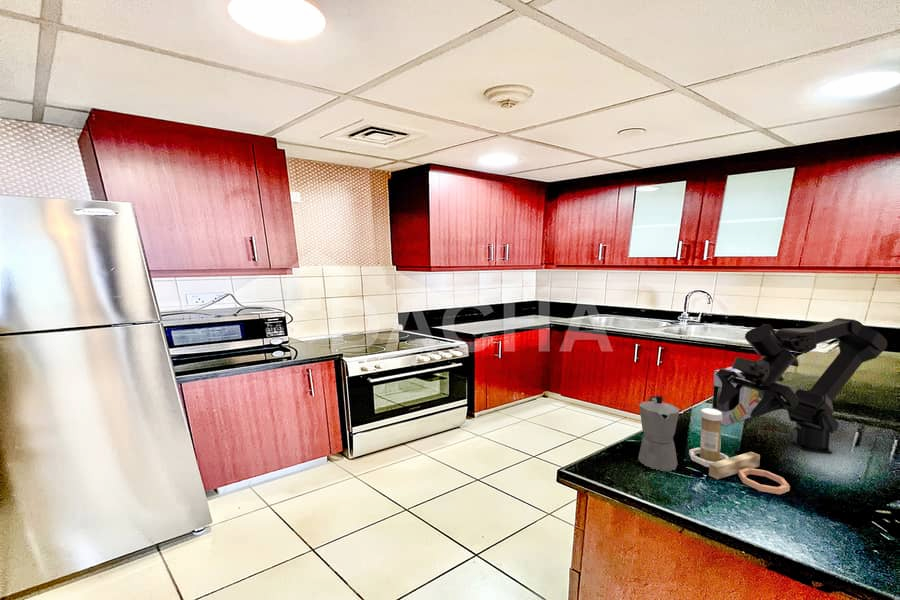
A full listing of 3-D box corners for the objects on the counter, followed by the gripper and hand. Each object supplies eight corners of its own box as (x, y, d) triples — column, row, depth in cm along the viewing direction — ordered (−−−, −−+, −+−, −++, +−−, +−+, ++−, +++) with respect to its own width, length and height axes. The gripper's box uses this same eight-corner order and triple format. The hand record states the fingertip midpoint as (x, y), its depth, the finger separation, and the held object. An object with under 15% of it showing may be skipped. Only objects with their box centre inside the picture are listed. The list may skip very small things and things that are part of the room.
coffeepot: (685, 478, 91) (688, 406, 89) (642, 473, 94) (644, 402, 92) (669, 449, 105) (671, 387, 104) (632, 445, 108) (633, 384, 107)
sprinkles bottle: (723, 461, 99) (725, 411, 98) (715, 466, 96) (717, 415, 95) (703, 454, 103) (705, 406, 102) (696, 458, 100) (697, 410, 99)
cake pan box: (724, 427, 120) (726, 373, 119) (708, 421, 124) (710, 369, 123) (759, 417, 127) (761, 366, 126) (742, 412, 132) (745, 363, 131)
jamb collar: (724, 455, 102) (724, 451, 102) (734, 471, 94) (734, 466, 94) (687, 449, 105) (687, 445, 105) (693, 464, 97) (693, 460, 97)
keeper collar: (778, 477, 91) (778, 472, 91) (794, 497, 83) (795, 492, 83) (735, 470, 94) (735, 465, 94) (746, 488, 86) (746, 483, 86)
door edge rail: (750, 462, 98) (751, 451, 98) (759, 466, 96) (759, 455, 96) (708, 475, 92) (709, 463, 92) (717, 479, 90) (717, 467, 90)
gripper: (722, 340, 109) (688, 380, 107) (792, 354, 90) (752, 402, 89) (744, 366, 111) (710, 405, 109) (816, 384, 92) (777, 431, 91)
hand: (734, 410), depth 100 cm, fingers open, 9 cm apart
